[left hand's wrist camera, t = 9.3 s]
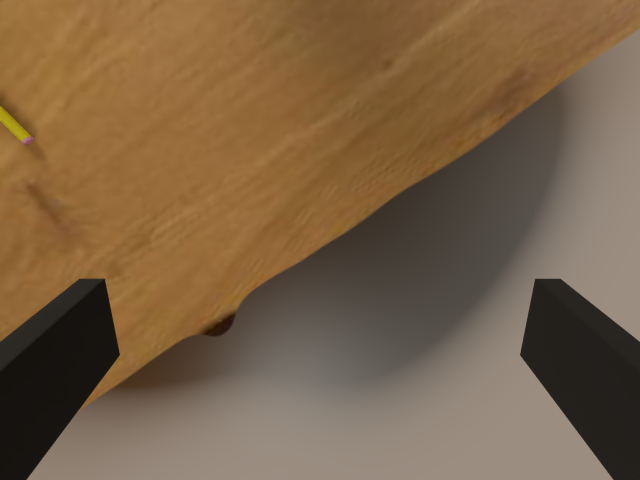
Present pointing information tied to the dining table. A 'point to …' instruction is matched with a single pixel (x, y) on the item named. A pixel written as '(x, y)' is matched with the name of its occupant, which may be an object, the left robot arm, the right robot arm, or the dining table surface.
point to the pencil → (15, 127)
